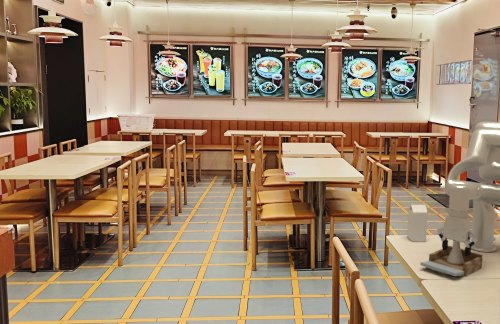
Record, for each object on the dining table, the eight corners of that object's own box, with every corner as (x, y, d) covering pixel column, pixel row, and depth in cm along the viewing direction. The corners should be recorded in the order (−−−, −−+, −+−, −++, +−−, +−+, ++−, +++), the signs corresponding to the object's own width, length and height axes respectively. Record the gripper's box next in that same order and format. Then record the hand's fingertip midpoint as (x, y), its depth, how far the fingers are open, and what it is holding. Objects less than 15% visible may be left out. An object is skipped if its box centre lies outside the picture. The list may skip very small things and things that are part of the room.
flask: (466, 266, 195) (468, 242, 194) (447, 264, 197) (449, 241, 195) (462, 259, 202) (464, 237, 201) (444, 258, 204) (446, 236, 202)
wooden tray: (445, 258, 210) (446, 245, 209) (481, 268, 198) (482, 254, 197) (428, 265, 201) (429, 251, 200) (465, 276, 189) (466, 262, 188)
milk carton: (425, 241, 233) (428, 204, 230) (411, 241, 233) (413, 204, 230) (421, 237, 240) (422, 201, 237) (407, 237, 240) (408, 201, 237)
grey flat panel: (429, 260, 200) (420, 262, 196) (464, 271, 189) (455, 273, 184) (428, 265, 201) (420, 266, 196) (463, 275, 189) (455, 277, 184)
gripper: (434, 210, 200) (432, 249, 203) (474, 219, 187) (471, 260, 190) (443, 208, 205) (441, 245, 208) (483, 216, 192) (480, 256, 194)
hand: (455, 252), depth 199 cm, fingers open, 9 cm apart
